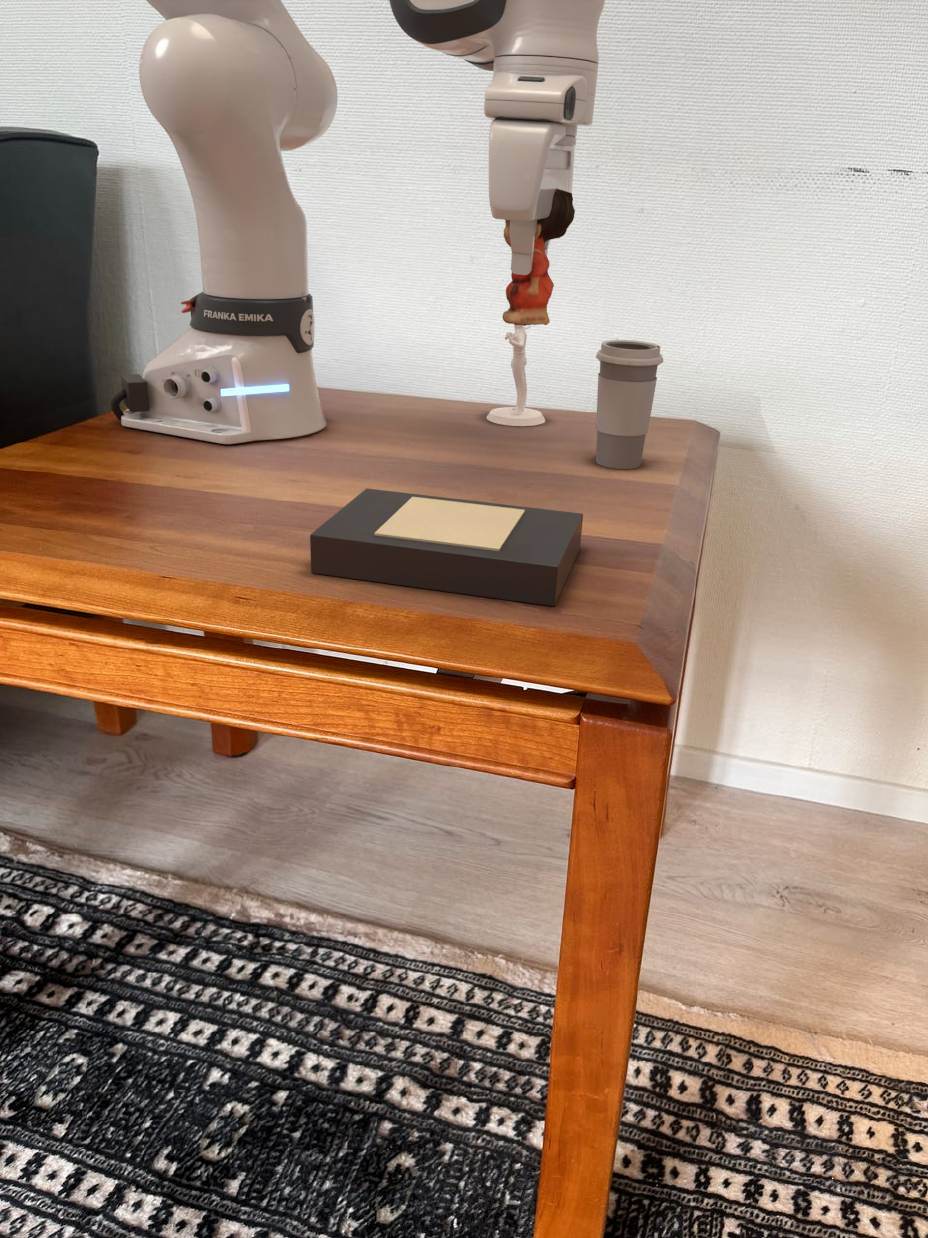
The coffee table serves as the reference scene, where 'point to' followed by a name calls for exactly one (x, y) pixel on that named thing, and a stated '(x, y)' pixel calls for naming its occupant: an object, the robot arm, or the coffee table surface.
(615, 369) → the cup
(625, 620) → the coffee table surface
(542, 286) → the figurine
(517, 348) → the figurine
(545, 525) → the block
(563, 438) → the coffee table surface
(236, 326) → the robot arm
